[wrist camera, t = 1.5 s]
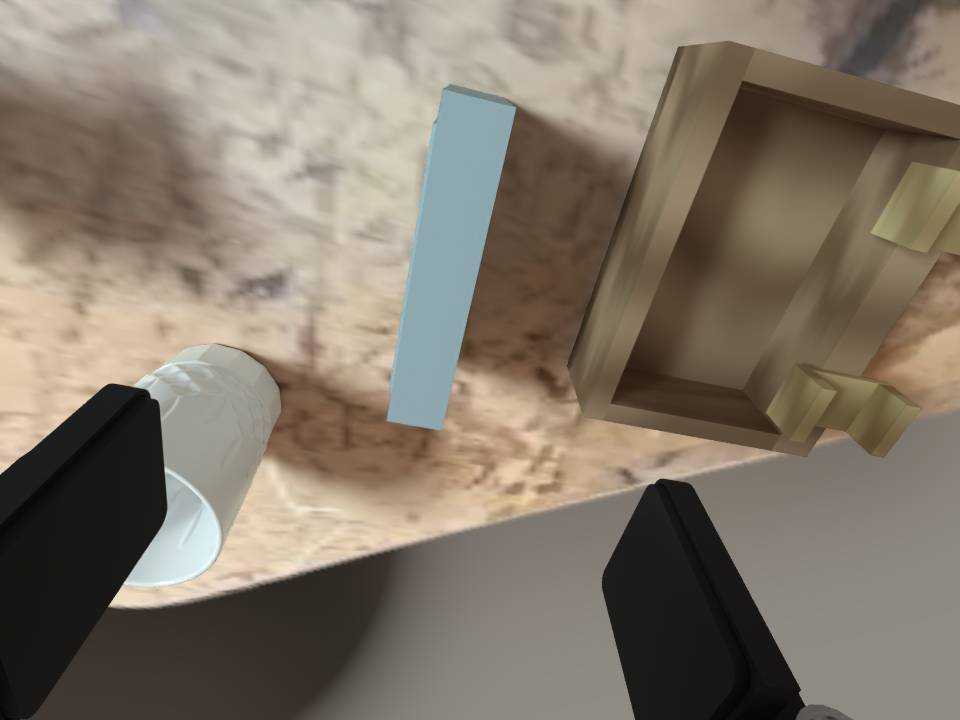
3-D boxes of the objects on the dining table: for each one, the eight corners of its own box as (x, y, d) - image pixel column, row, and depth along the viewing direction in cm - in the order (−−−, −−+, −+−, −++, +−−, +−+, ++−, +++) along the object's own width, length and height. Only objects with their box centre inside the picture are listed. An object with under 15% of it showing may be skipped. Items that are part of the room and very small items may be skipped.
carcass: (678, 46, 22) (759, 37, 16) (951, 121, 24) (1123, 139, 18) (567, 366, 30) (592, 445, 24) (780, 407, 31) (858, 491, 25)
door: (447, 83, 23) (437, 88, 16) (503, 97, 23) (516, 107, 17) (402, 341, 29) (383, 420, 22) (448, 350, 29) (441, 430, 23)
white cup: (302, 355, 29) (230, 476, 21) (282, 460, 33) (214, 602, 24) (154, 315, 28) (9, 427, 19) (150, 430, 32) (27, 567, 23)
